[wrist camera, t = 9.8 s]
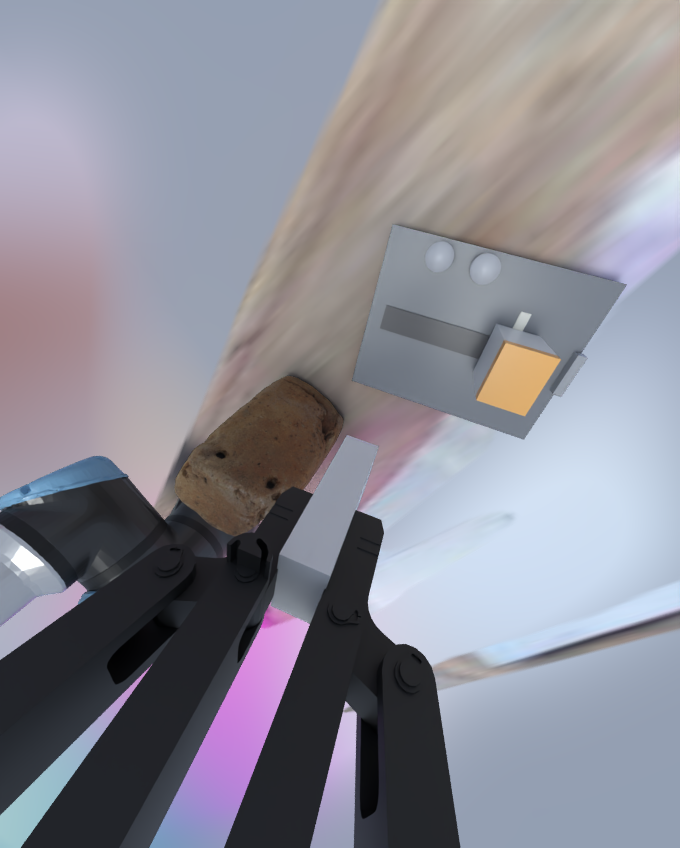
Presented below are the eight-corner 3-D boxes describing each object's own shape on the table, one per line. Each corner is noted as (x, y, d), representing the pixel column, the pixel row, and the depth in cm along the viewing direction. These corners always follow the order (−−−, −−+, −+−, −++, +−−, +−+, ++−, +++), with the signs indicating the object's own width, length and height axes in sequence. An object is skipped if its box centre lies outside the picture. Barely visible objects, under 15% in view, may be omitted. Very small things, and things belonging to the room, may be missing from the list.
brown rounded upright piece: (267, 404, 46) (159, 495, 29) (289, 364, 41) (178, 444, 25) (328, 448, 46) (256, 563, 29) (356, 413, 42) (290, 525, 25)
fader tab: (472, 372, 32) (476, 400, 26) (496, 323, 30) (505, 343, 24) (512, 384, 32) (525, 416, 26) (540, 336, 29) (561, 359, 23)
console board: (356, 374, 39) (347, 385, 36) (396, 225, 30) (389, 223, 28) (522, 431, 36) (528, 448, 33) (619, 282, 27) (638, 287, 24)
